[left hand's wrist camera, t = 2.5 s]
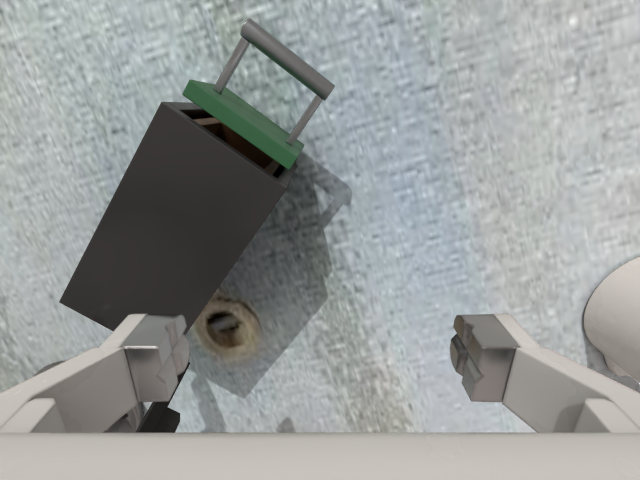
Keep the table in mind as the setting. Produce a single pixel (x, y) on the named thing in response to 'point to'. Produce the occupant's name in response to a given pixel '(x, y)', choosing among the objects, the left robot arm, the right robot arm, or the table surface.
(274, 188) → the dark grey box
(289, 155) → the drawer
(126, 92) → the table surface
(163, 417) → the right robot arm
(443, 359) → the table surface
